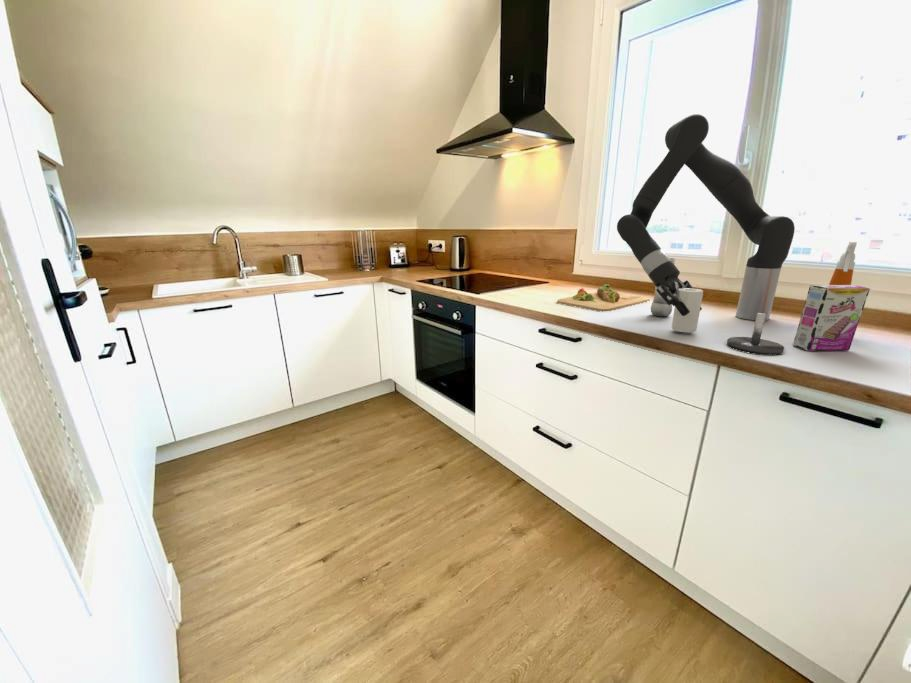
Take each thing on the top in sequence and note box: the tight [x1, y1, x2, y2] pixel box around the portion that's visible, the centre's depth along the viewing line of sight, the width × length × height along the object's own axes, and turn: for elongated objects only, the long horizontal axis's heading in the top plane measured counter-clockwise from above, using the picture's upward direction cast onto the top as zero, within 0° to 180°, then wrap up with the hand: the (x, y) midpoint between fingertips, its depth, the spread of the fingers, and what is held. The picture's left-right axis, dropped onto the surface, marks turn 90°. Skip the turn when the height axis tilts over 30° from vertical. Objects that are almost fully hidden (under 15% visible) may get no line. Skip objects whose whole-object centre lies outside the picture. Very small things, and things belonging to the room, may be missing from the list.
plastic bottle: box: [650, 257, 676, 317], centre depth 133 cm, size 6×7×20 cm
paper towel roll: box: [671, 287, 704, 333], centre depth 113 cm, size 6×6×12 cm
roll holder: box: [726, 313, 785, 356], centre depth 100 cm, size 12×12×9 cm
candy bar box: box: [792, 284, 871, 352], centre depth 97 cm, size 11×5×16 cm, turn 92°
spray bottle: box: [828, 241, 857, 285], centre depth 108 cm, size 7×11×26 cm, turn 137°
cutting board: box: [556, 283, 651, 313], centre depth 160 cm, size 35×23×8 cm
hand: (692, 312), depth 112 cm, fingers closed on paper towel roll, 6 cm apart
